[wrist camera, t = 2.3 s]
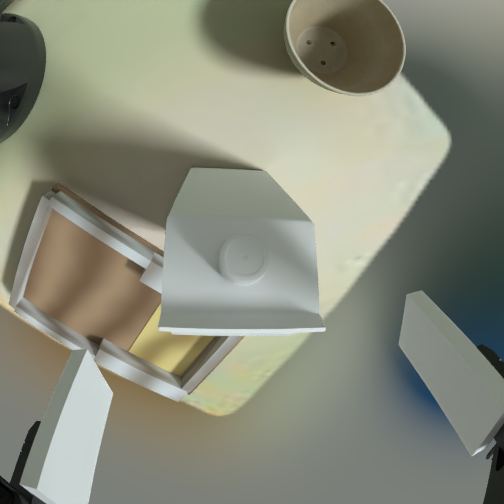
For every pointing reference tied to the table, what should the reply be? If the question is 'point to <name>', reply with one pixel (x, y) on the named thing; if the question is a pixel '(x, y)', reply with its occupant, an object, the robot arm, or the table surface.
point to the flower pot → (345, 44)
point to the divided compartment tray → (107, 297)
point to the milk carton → (238, 259)
